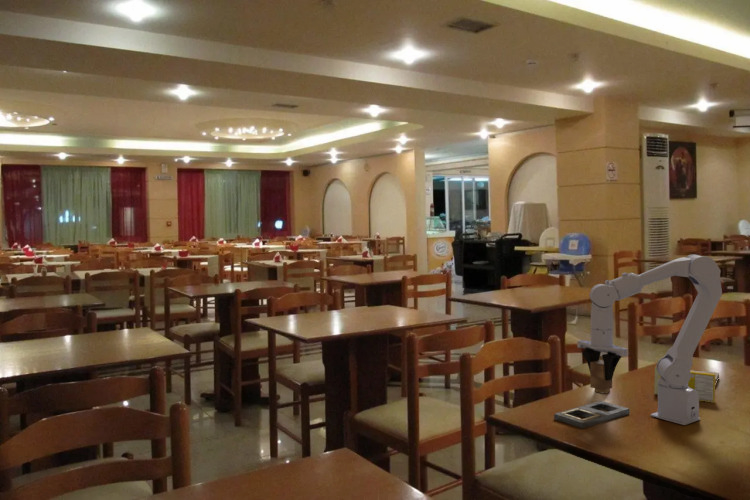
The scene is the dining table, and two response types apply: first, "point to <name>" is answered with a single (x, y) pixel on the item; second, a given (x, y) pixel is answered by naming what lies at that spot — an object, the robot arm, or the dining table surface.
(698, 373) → the candy box
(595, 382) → the square peg block
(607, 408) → the grey peg holder tray
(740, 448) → the dining table surface
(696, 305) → the robot arm
